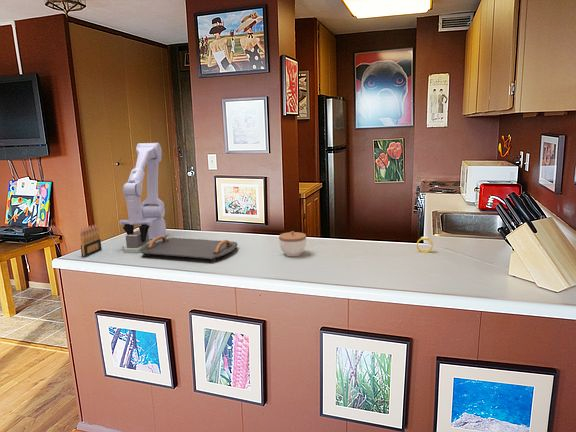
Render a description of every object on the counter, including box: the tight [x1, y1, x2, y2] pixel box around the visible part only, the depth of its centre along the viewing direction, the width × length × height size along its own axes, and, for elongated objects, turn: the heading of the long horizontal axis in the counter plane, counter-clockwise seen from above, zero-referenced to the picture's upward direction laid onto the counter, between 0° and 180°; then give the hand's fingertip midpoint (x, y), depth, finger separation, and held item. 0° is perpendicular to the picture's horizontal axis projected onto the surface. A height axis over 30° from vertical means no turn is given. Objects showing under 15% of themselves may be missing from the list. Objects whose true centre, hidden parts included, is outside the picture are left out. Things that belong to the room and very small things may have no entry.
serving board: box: [140, 236, 238, 263], centre depth 188 cm, size 39×23×6 cm, turn 71°
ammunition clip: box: [80, 223, 103, 258], centre depth 190 cm, size 11×2×12 cm, turn 166°
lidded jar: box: [278, 230, 307, 257], centre depth 180 cm, size 11×11×9 cm
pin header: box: [122, 240, 151, 254], centre depth 196 cm, size 13×7×4 cm, turn 168°
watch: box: [416, 236, 434, 253], centre depth 178 cm, size 6×3×6 cm, turn 71°
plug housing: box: [125, 230, 150, 248], centre depth 196 cm, size 10×5×5 cm, turn 168°
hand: (138, 241), depth 196 cm, fingers closed on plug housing, 5 cm apart
